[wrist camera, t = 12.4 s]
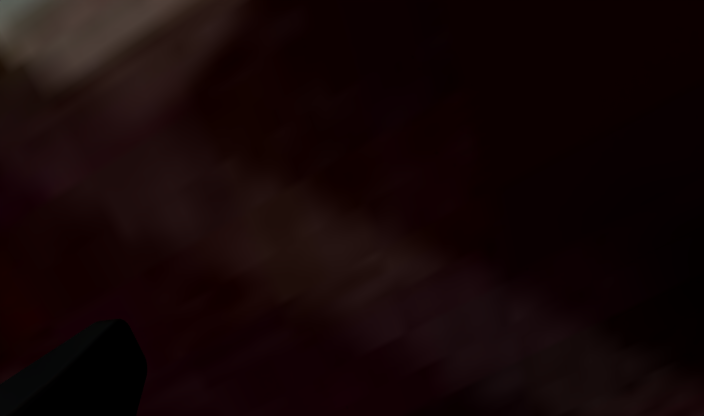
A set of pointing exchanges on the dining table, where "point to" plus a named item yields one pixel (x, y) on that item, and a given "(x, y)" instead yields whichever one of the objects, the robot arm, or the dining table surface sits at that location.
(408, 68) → the dining table surface
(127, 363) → the robot arm
